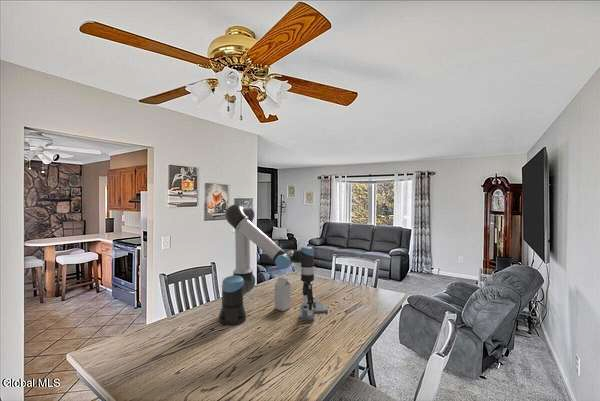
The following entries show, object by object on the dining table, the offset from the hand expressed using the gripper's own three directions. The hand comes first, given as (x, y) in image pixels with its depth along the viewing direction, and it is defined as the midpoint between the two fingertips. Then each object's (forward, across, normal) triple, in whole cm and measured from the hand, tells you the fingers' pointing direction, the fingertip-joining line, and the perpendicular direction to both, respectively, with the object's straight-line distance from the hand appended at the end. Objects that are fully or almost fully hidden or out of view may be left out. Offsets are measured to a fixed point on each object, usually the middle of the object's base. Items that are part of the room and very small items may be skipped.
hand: (307, 310), depth 165 cm
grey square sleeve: (+4, 0, 0) cm, 4 cm away
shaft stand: (+4, +13, -6) cm, 15 cm away
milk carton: (+4, +16, +13) cm, 21 cm away
